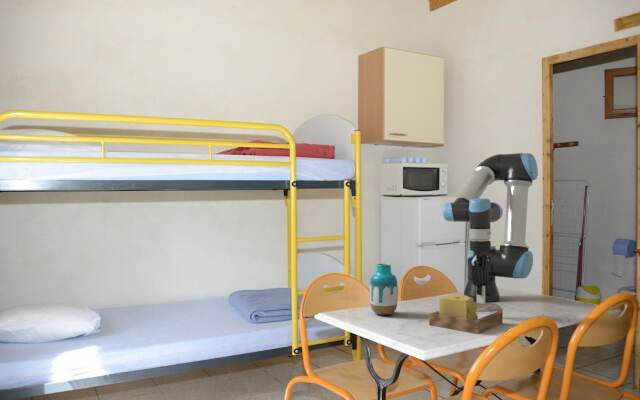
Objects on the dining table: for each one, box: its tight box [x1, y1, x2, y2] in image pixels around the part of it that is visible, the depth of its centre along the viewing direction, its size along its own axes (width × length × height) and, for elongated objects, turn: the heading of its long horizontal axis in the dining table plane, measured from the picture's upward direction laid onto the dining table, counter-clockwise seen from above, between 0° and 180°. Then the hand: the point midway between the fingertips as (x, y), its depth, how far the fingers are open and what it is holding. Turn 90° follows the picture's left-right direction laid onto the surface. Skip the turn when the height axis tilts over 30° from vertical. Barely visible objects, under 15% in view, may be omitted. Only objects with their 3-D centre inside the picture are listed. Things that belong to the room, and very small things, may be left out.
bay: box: [428, 307, 504, 335], centre depth 188 cm, size 18×20×5 cm
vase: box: [369, 263, 399, 316], centre depth 204 cm, size 11×11×19 cm
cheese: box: [438, 292, 479, 320], centre depth 187 cm, size 10×11×10 cm
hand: (480, 303), depth 199 cm, fingers closed
